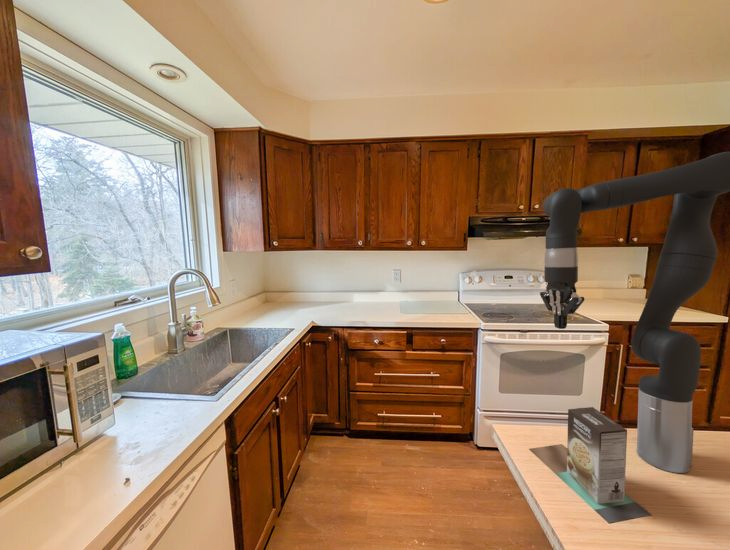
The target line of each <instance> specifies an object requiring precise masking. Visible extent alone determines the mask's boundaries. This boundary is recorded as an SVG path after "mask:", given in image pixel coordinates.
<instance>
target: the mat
mask: <svg viewBox="0 0 730 550" xmlns="http://www.w3.org/2000/svg"><path fill="white" fill-rule="evenodd" d="M528 450H529V451H530V452H531V453H532V454H533V455H534V456H535V457H537V459H539V460H540V461H541V462H542V463H543V464H544V465H545V466H546V467H547V468H548V469H550V471H551V472H552V473H554V474H555V475H556V476H557V477H558V478H559V479H561V481H562V482H564V484H566V485H567V486H568V487H569V488H570V489H571V490H572V491H573V492H574V493H575V494H576V495H577V496H579V497H580V498H581V499H582V500H583V502H585V503H586V504H587V505H588V506H590V508H592V509H593V510H594V511H595V512H596V513H597V514H598V515H599V516H600V517H601V518H602V519H603V520H604V521H605V522H607V524H614V523H618V522H624V521H629V520H634V519H638V518H643V517H648V516H653V514H652V513H651V512H650V511H648V510H647V509H645V508H644V507H643V506H642V505H640V504H639V503H638V502H637V501H635V500H634V499H633V498H632V497H630V496H629V495H628V494H627V493H624V502H613V503H602V504H598V503H596V502H595V501H594V500H593V499H592V498H591V497H590V496H589V495H588V494H587V493H586V492H585V490H584V489H583V488H582V487H581V486H580V485H579V484H578V483H577V482H576V481H575V480H574V479H573V478H572V477H571V476H570V475H569V474H568V473H567V446H565V445H563V444H562V443H561V444H551V445H546V446H539V447H532V448H528Z"/></svg>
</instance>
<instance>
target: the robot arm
mask: <svg viewBox="0 0 730 550" xmlns="http://www.w3.org/2000/svg"><path fill="white" fill-rule="evenodd" d="M729 192H730V151H724V152H718V153H715V154H712V155H709V156H706V158H702V159H699V160H696V161H692V162H690V163H686V164H682V165H679V166H675V167H671V168H667V169H663V170H658V171H654V172H649V173H645V174H639V175H634V176H629V177H628V176H627V177H623V178H618V179H612V180H608V181H607V180H606V181H603V182H596V183H595V184H594V183H593V184H591V185H589V186H585V187H582V188H578V189H577V188H576V189H575V188H571V187H564V188H560V189H558V190H556V191H554V192H552V193H551V194H549V195H548V196H546V198H545V199H544V200H543V203H542V210H543V213H544V214H545V215H546V216H547V217H549V226H548V228H547V230H546V232H545V252H544V261H543V262H544V263H543V264H544V267H543V268H544V270H543V271H544V273H543V274H544V277H543V278H544V279H543V280H544V282H545V283H547V285H546V287H545V288H546V289H545V290H544V291H540V292H539V295H540V298H541V299H542V301H543V303H544V305H545V307H546V309H547V310H548V312H552V314H553V319H554V320H553V324H554V327H555V328H556V329H559V330H560V329H561V330H564V329H566V328H567V326H568V315H574V314H575V313H576V312H577V311H578V309H579V307H580V306H582V304H583V303H584V301H585V297H584V296H579V295H578V293H577V288H576V283H577V282H578V281H579V280H578V279H579V275H578V274H579V273H578V271H579V266H578V265H579V254H578V233H577V232H578V226H579V225H580V224H579V223H580V219H581V215H582V214H583V213H587V212H597V211H604V210H611V209H616V208H621V207H627V206H632V205H636V204H640V203H643V202H647V201H651V200H655V199H659V198H663V197H667V196H672V195H674V196H673V202H672V210H671V216H670V220H669V223H668V224H669V225H668V226H667V227H668V228H667V230H666V234H665V238H664V241H663V245H662V248H661V251H660V254H659V257H658V261H657V264H656V268H655V273H654V278H653V280H652V283H651V288H650V290H649V292H648V296H647V298H646V299H647V300H646V303H645V305H644V308H643V310H642V312H641V315H640V317H639V319H638V321H637V323H636V325H635V328H634V330H633V333H632V337H631V342H630V343H631V350H632V352H633V354H634V355H635V356H636V357H637V358H639V359H640V360H644V361H646V362H648V363H650V364H655V365H657V366H659V370H658V374H648V375H642V376H640V378H639V380H638V398H637V399H638V400H637V429H636V430H637V433H636V434H637V435H636V453H637V456H638V457H639V458H640V459H642V460H643V461H644V462H645V463H648V464H650V465H651V466H653V467H655V468H658V469H661V470H664V471H665V472H670V473H675V474H685V473H688V472H689V471H690V467H692V466H693V450H694V449H693V446H694V428H693V427H692V423H693V399H694V394H695V391H696V389H697V387H698V384H699V377H700V369H701V360H702V349H701V345H700V343H699V340H698V339H697V338H696V337H695V336H694V335H692V334H689V333H687V332H683V331H679V330H675V329H670V328H671V324H672V321H673V318H674V316H675V314H676V313H677V311H678V310H679V309H680V307H681V306H682V305H684V303H686V302H687V301H688V300H689V299H691V298H692V297H693V296H694V295H696V294H697V293H698V292H700V291H701V290H702V289H703V288H704V287H705V286H706V285H707V283H709V281H710V279H711V277H712V274H713V272H714V267H715V264H716V261H717V257H718V246H717V242H716V238H715V236H714V234H713V231H712V228H711V227H712V226H711V216H712V213H713V209H714V206H715V204H716V201H717V199H718V196H720V195H722V194H723V195H724V194H727V193H729Z"/></svg>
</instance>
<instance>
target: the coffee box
mask: <svg viewBox="0 0 730 550" xmlns="http://www.w3.org/2000/svg"><path fill="white" fill-rule="evenodd" d="M627 440H628V429H627V428H625V427H623V426H622V425H620V424H619V423H617V421H615V420H613V419H611V418H610V417H608V416H606V415H605V414H604V413H602V412H601V411H599V410H598V409H596V408H595V407H593V406H589V407H577V408H569V409H567V444H566V445H567V446H566V448H567V473H568V474H569V475H570V476H571V477H572V478H573V479H574V480H575V481H576V482H577V483H578V484H579V485H580V486H581V487H582V488H583V489H584V490H585V492H586V493H587V494H588V495H589V496H590V497H591V498H592V499H593V500H594V501H595V502H596V503H598V504H602V503H613V502H624V493H625V490H626V488H625V487H626V468H627V467H626V466H627V442H628V441H627ZM625 494H626V493H625Z"/></svg>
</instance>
